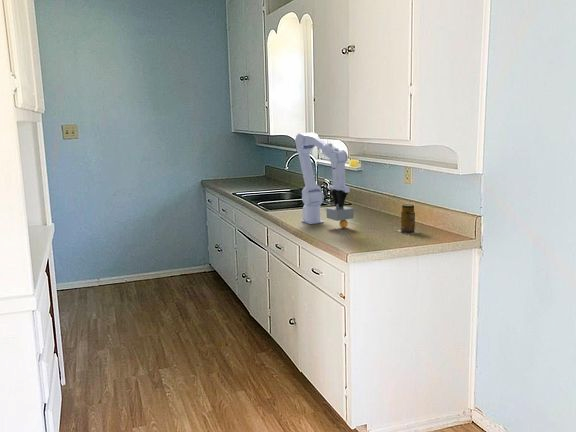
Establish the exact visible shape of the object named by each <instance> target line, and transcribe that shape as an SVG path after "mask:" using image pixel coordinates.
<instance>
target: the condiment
mask: <svg viewBox="0 0 576 432" xmlns="http://www.w3.org/2000/svg"><path fill="white" fill-rule="evenodd" d="M415 228H416V211H415V205H414V204H409V203H407V204H402V206H401V211H400V229H398V230H397V231H398V232H399V233H402V234H403V235H406V234H407V235H410V234H411V235H413V234H421V233H420V231H417V230H415ZM415 231H416V232H415ZM413 232H414V233H413Z"/></svg>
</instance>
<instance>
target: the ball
mask: <svg viewBox="0 0 576 432" xmlns="http://www.w3.org/2000/svg"><path fill="white" fill-rule="evenodd" d="M338 223H339V227H340V228H342V229H345V228H348V226H349V222H348V220H347V219H346V220H340V221H339V222H338Z"/></svg>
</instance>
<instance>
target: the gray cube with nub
mask: <svg viewBox="0 0 576 432" xmlns="http://www.w3.org/2000/svg"><path fill="white" fill-rule="evenodd" d="M325 209H326V219H329V220H333V221H336V222H338V221H339V222H340V221H341V220H346V221H347V220H351V219H352V220H353V219H354V218H355V217H354V215H355V214H354V212H355V211H354V207H349V206H345V205H344V206H343V207H339V205H338V204H336V206H332V207H327V208H325Z"/></svg>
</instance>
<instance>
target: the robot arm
mask: <svg viewBox="0 0 576 432" xmlns="http://www.w3.org/2000/svg"><path fill="white" fill-rule="evenodd" d="M294 142H295V147H296V151H297V154H298V159H299V163H300V169H301V173H302V177H303V182H304V187H303V189H302V190H301V200H302V203H303V204H304V205H303V207H302V219H301V222H303V223H305V224H309V225H314V224H322V223H325V220H322V219H321V217H322V216H321V215H322V214H321V213H322V212H321V205H322V203H323V202H324V198H325V195H324V192H323V190H322V187H321V186H319V184H317V183H316V178H315V173H314V169H313V164H312V160H311V157H310V152H312V150H314V148H315V147H316V148H318V149H319V150H321V153H322V154H323V155H324V156H325V157H327V158H328V159H329V162H330V166H331V169H332V184H330V185H328V190H329V191H330V195H331V197H332V200H333V203H334V207H336V204H338V205H339V207H343V206H345V201H346V198H347V195H348V194H349V193H351V191H350V190H351V189H350V187H348V186H347V185H346V163H347V161H348V158H349V157H348V154H347V152H346V151H345V150H340V149H339V148H338V147H335V146H334V145H333V143H332V142H330V143H326V142H325V141H323V140H322V139H321V138H320V137H319V134H317V133H316V132H305V133H304V132H303V133H302V132H299V133H297V135H296V136H295V139H294Z"/></svg>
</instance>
